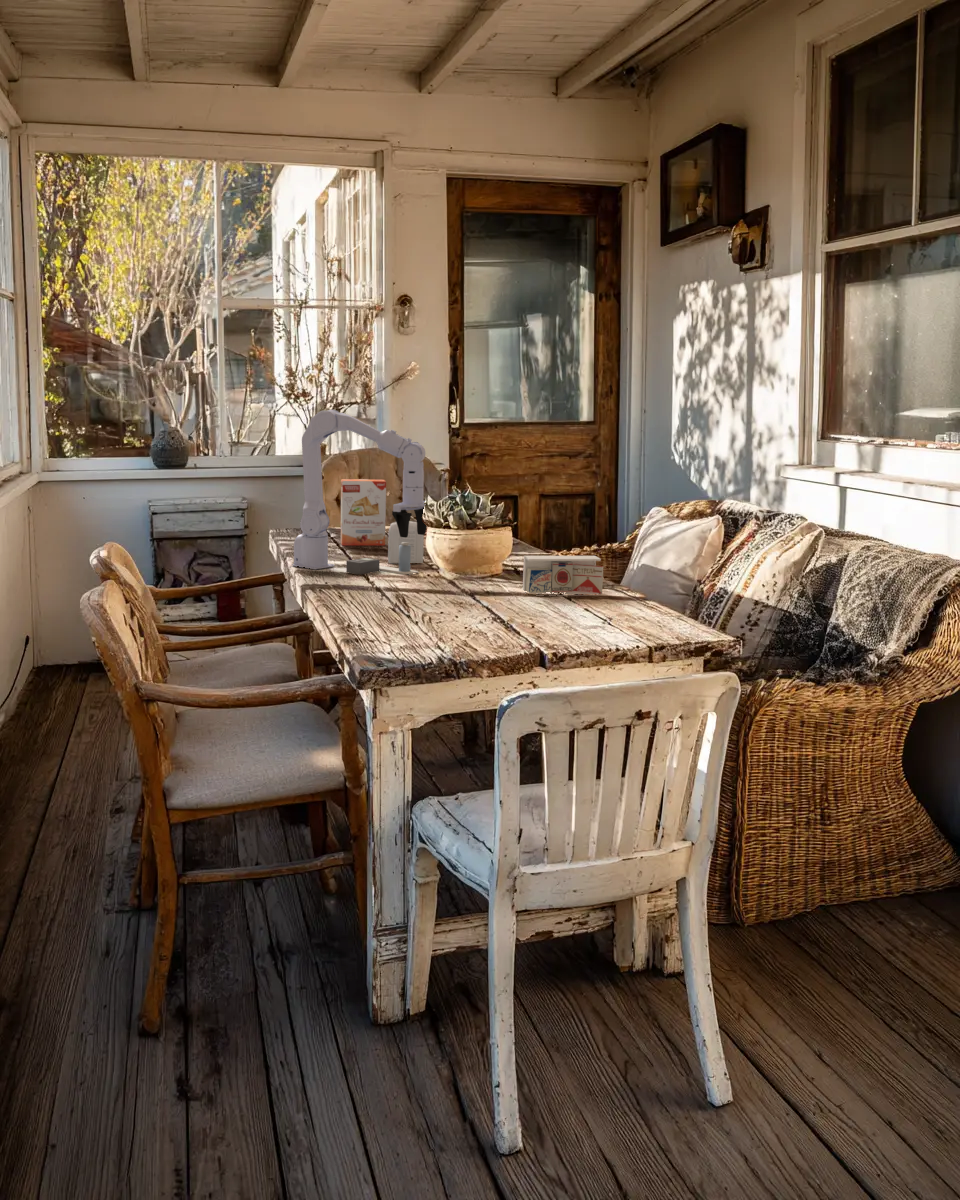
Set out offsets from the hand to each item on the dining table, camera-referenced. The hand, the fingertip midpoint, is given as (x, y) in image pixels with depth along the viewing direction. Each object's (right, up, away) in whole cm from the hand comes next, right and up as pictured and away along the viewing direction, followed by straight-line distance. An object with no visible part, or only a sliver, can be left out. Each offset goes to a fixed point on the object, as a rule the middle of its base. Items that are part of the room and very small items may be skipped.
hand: (412, 535), depth 327 cm
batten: (-6, -10, +1) cm, 11 cm away
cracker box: (-19, 0, +50) cm, 53 cm away
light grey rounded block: (-3, -7, +15) cm, 17 cm away
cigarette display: (+40, -16, -27) cm, 51 cm away
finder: (-14, -10, -1) cm, 17 cm away
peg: (-2, -10, -2) cm, 10 cm away
